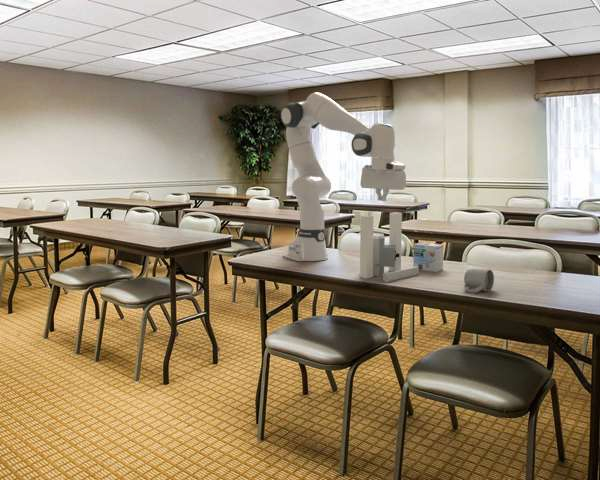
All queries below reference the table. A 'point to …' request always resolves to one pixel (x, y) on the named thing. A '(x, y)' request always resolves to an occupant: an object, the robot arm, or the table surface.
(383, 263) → the circuit breaker
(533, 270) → the table surface
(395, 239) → the post
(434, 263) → the light bulb box
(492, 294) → the table surface
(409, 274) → the bar
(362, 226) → the post
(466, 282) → the ceramic mug
